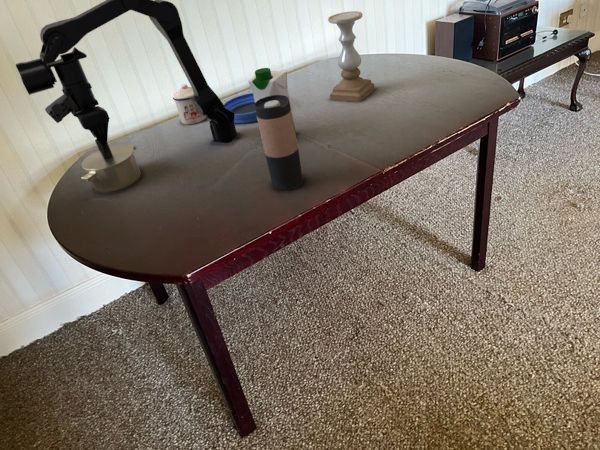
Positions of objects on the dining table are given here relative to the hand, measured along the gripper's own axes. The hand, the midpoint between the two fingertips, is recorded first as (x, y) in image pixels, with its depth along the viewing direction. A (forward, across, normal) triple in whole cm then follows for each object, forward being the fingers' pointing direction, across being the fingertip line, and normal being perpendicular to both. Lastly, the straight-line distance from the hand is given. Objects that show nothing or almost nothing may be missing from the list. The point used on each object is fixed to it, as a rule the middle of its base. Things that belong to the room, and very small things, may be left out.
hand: (100, 141), depth 118 cm
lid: (+5, 0, 0) cm, 5 cm away
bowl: (+12, -11, +48) cm, 50 cm away
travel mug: (+12, +37, +32) cm, 50 cm away
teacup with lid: (+12, -23, +34) cm, 43 cm away
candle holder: (+12, +6, +76) cm, 78 cm away
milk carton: (+12, +14, +43) cm, 47 cm away
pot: (+12, 0, 0) cm, 12 cm away
